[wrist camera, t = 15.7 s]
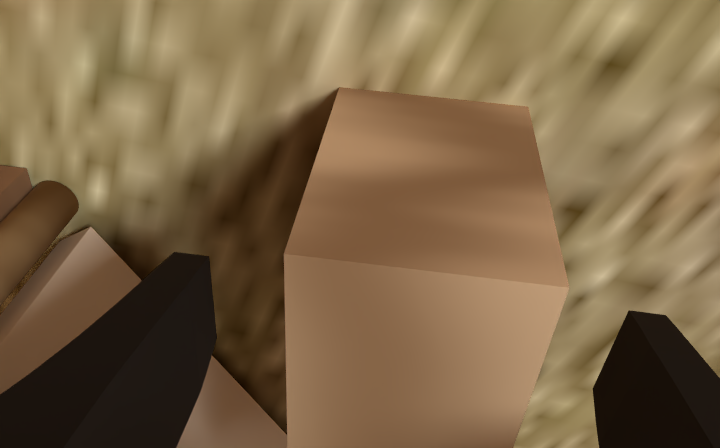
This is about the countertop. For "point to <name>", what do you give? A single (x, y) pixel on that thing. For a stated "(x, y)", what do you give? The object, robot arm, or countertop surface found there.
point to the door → (87, 304)
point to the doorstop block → (419, 276)
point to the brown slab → (28, 222)
